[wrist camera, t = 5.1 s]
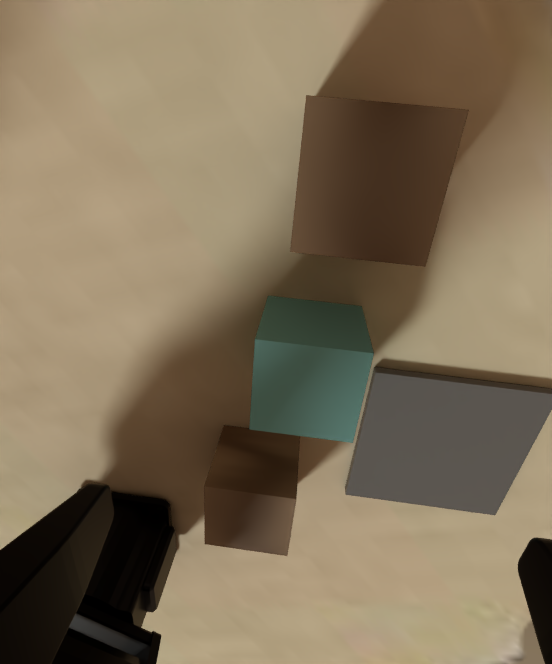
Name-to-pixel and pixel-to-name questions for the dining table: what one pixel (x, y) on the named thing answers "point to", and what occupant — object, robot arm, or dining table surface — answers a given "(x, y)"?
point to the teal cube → (310, 369)
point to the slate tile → (444, 439)
